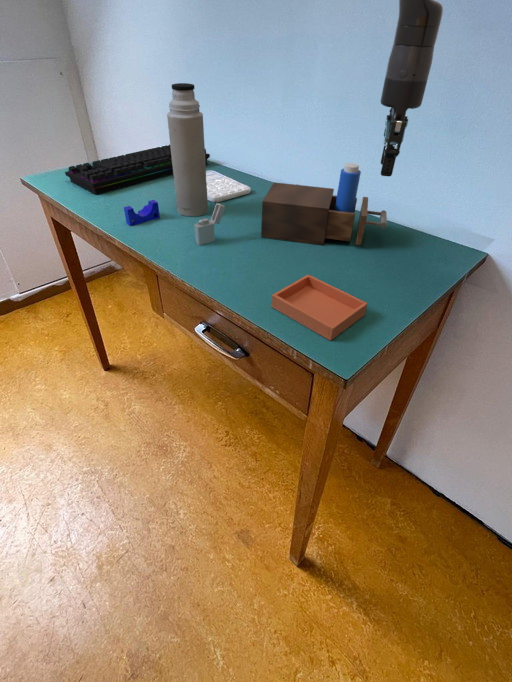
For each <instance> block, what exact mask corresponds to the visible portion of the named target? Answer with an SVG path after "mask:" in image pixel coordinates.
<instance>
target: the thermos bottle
mask: <svg viewBox="0 0 512 682" xmlns="http://www.w3.org/2000/svg"><path fill="white" fill-rule="evenodd" d="M171 89H172V90H171V91H172V92H171V96H172V98H171V100H170V101H169V102H168V105H169V106H168V109H169V112H167V114H166V118H167V126H168V127H167V128H168V135H169V136H168V137H169V145H170V147H171V156H172V165H173V174H172V175H173V183H174V192H175V201H176V211H177V213H178V214H179V215H181V216H183V217H200V216H204V215H206V214H207V213H208V212H209V200H208V199H207V183H206V171H207V165H206V163H205V149H206V147H205V146H206V145H205V128H204V114H203V112H201V111H200V107H201V105H200V101H198V100H197V99H196V97H195V96H196V95H195V91H194V90H195V84H193V83H186V82H179V83H178V82H177V83H172V84H171Z"/></svg>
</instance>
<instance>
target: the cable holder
mask: <svg viewBox="0 0 512 682" xmlns="http://www.w3.org/2000/svg"><path fill="white" fill-rule="evenodd" d="M123 212H124V217H125V222H126V224H127V225H128V226H129V227H133V226H137V225H140V224H143V223H147V222H151V221H154V220H157V219H160V218H161V216H160V208H159V202H158V201H157V200H155V199H152V200H148V204H147V205H146V204H145V205H144V206H143V207H142V209H140V210H138V211H137V213H136V212H135V210H134V208H133V207H132V206H131V205H127V206H124V207H123Z"/></svg>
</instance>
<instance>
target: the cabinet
mask: <svg viewBox="0 0 512 682" xmlns="http://www.w3.org/2000/svg"><path fill="white" fill-rule="evenodd" d="M334 192H335V188H331V187H321V186H311V185H301V184H294V183H283V182H273V183H272V184H271V186H270V188H269V189H268V191H267V193H266V194H265V196H264V197H263V199H262V202H261V203H262V204H261V205H262V206H261V229H260V230H261V231H260V232H261V233H260V237H261V238H264V239H272V240H279V241H284V242H285V241H286V242H294V243H301V244H307V245H317V246H324V245H325V241H326V238H325V233H326V226H327V219H328V212H329V208H330V204H331V200H332V196H333V195H334Z"/></svg>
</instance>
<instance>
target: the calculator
mask: <svg viewBox="0 0 512 682" xmlns="http://www.w3.org/2000/svg"><path fill="white" fill-rule="evenodd" d="M206 183H207V199H208V202H211V203H214V204H215V203H220V202H223V201H228V200H231V199H235V198H240V197H242V196H246V195H249V194H250V193H251V191H252V189H251V187H250V186H248V185H246V184H244V183H241V182H239V181H237V180H235V179H233V178H231V177H229V176H226V175H225V174H222V173H220V172H217V171H215V170H210V169H209V170H206Z"/></svg>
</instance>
